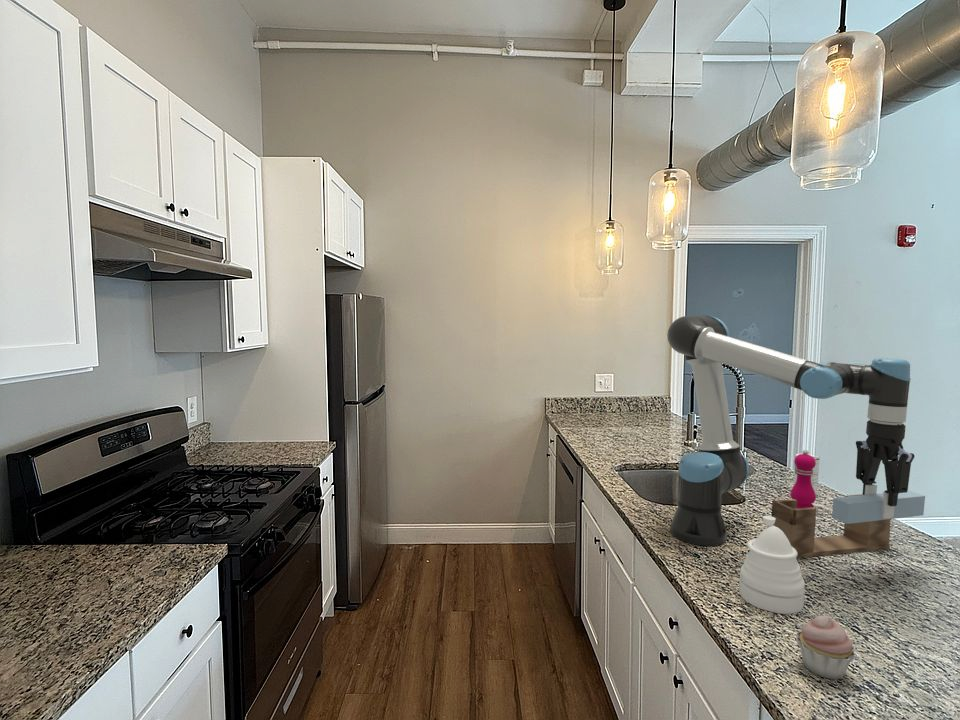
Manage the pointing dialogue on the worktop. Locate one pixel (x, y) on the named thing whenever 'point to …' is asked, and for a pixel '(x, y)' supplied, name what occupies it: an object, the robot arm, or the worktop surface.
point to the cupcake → (825, 647)
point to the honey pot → (772, 572)
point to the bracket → (802, 536)
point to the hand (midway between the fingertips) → (878, 513)
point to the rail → (875, 507)
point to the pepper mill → (804, 481)
